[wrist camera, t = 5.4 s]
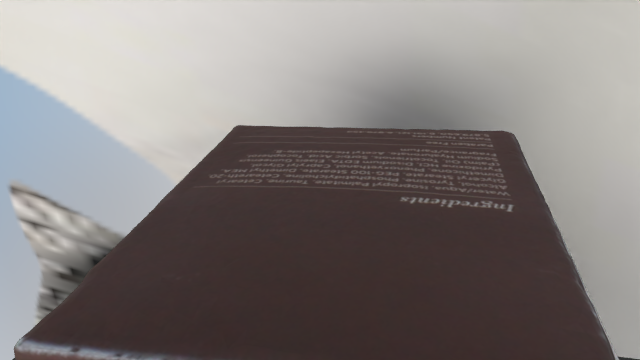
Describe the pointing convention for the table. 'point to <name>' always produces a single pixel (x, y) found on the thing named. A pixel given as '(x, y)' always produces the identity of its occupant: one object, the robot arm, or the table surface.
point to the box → (337, 258)
